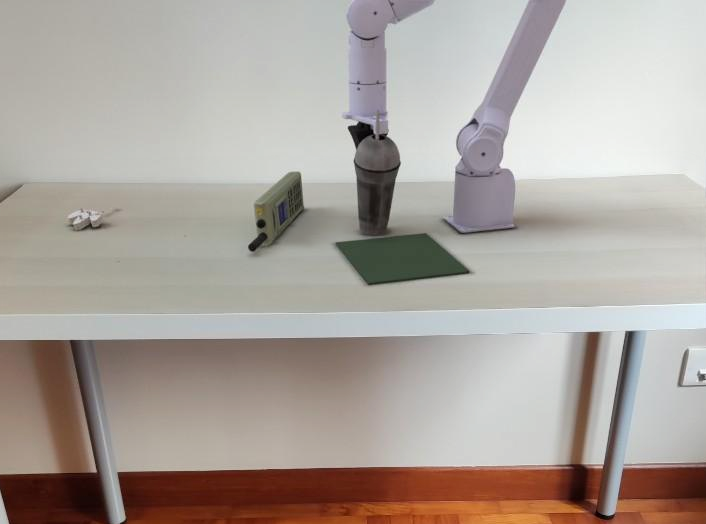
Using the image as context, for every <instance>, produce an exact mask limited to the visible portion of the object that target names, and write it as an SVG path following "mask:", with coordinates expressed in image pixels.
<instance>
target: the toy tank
mask: <svg viewBox="0 0 706 524" xmlns="http://www.w3.org/2000/svg"><path fill="white" fill-rule="evenodd" d="M112 209H113V207H111V208H110V209H109V210H108V213H110V212H111V211H112ZM115 209H116V210H118V207H115ZM102 213H103V214H104V213H105V212H104V211H102ZM102 213H101V212H100V210H99V211H96V210H88V209H87V210H85V209H83V208H82V207H80V209H79V210H76V211H74V212H72V213H70V214H69V215H68V216H67V220H68V223H69V224H70V225H73V227H74V230H75V231H80V230H82V229H84V228H85V227H87V226H89V225H90V223H91V226H92V228H98V227H99V226H101V224H102V223H103V221H104V219H103V216H102Z"/></svg>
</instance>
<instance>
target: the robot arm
mask: <svg viewBox="0 0 706 524" xmlns="http://www.w3.org/2000/svg"><path fill="white" fill-rule="evenodd" d="M435 1H436V0H351V2H350V3H349V5H348V8H347V13H346V20H347V24H348V26H349V28H350V29H351V30H350V31H349V35H348V44H349V47H348V50H347V54H348V56H347V58H348V103H349V104H348V108H349V109H348V111H344V112H341V118H342V119H343V120H352V121H355V122H357V123H356V124H353V125H348V126H347V129H348V132H349V134H350V136H351V138H352V142H353V144H354V147H355V151H356V150H357V148H358V146H359V144H360V143H361V142H362V140H364V139H365V138H366V137H368V136H370V135H373V134H377V132H376V110H379V133H378V134H382V135H385V136H387V137H388V135H389V132H390V131H389V130H390V129H389V120H388V117H389V116H388V115H389V114H388V113H389V112H388V110H387V48H386V32H385V31H386V29H387V28H388V25H389V24H392V25H397V24H399V23H400V22H402V21H405V20H406V19H408V18H410V17H412V16H413V15H416V14H418V13H420V12H422V11H424V10H425V9H427V8H429V7H431V6H433V5H434V3H435ZM566 3H567V0H528V2H527V4H526V6H525V8H524V10H523V12H522V15H521V17H520V18H519V21H518V24H517V26H516V27H515V30H514V32H513V35H512V36H511V38H510V41H509V43H508V46H507V47H506V50H505V52H504V54H503V56H502V58H501V61H500V62H499V65H498V67H497V70H496V71H495V74H494V76H493V79H492V80H491V83H490V85H489V87H488V89H487V91H486V93H485V96H484V98H483V100H482V102H481V103H480V105H479V106H478V107H477V108H476V109H475V111H474V112H473V114H472V117H471V118H470V119H469V121H468V122H467V124H465V125H463V126H462V128H461V129H460V130H459V131H458V133H457V136H456V140H455V146H456V150H457V152H458V154H459V156H460V157H461V158H460V159H459V161H458V163H457V164H456V165H455V167H454V169H455V171H454V188H453V189H454V190H453V207H452V209H453V211H452V212H453V213H452V215H448V216H447V215H446V216H444V217H443V219H444V221H446V223H448V224H450V225H451V226H452V227H453V228H455V230H457V231H458V232H460V233H462V234H465V233H474V232H482V231H483V232H485V231H495V230H505V229H512V228H515V224H514V211H515V199H516V179H515V176H514V174H513V171H512V170H511V169H510V168H505V167H503V168H502V167H501V166H500V165H501V163H502V160H503V158H504V145H505V141H506V139H507V136H508V135H509V129H510V123H511V118H512V117H513V116H512V115H513V113H514V112H515V109H516V107H517V105H518V103H519V101H520V99H521V97H522V95H523V93H524V90H525V88H526V86H527V84H528V82H529V79H531V76H532V74H533V72H534V70H535V68H536V65H537V64H538V61H539V59H540V57H541V55H542V54H543V51H544V48H545V46H546V45H547V42H548V41H549V38H550V37H551V34H552V32H553V30H554V28H555V26H556V24H557V21H558V19H559V17H560V15H561V13H562V11H563V9H564V7H565V5H566Z"/></svg>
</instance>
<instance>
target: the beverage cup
mask: <svg viewBox="0 0 706 524" xmlns="http://www.w3.org/2000/svg"><path fill="white" fill-rule="evenodd" d="M376 132H377V134H373V135H370V136H368V137H366V138H365V139H364V140H362V142H361V143H360V144H359V146H358V148H357V150H356V149H355V153H354V157H353V165H354V173H355V176H356V193H357V195H356V197H357V215H358V217H357V218H358V225H359V226H358V227H359V230H360V231H361V233H363V234H365V235H367V236H369V235H370V236H380V235H383V234H384V233H386V232H387V231H388V230H387V229H388V225H389V222H390V216H391V210H392V204H393V198H394V193H395V186H396V179H397V177H398V173H399V170H400V167H401V164H402V162H401V154H400V151H399V148H398V146H397V144H396V142H395V141H394V140H393V139H392V138H391V137H389V136H388V135H387V136H385V135H382V134H378V133H379V110H376Z"/></svg>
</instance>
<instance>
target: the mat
mask: <svg viewBox="0 0 706 524" xmlns="http://www.w3.org/2000/svg"><path fill="white" fill-rule="evenodd" d="M335 245H336V246H337V248H338V249H339V250H340V252H341V253H342V254H343V255H344V256H345V257H346V259H347V260H348V261H349V262H350V264H351V265H352V266H353V267H354V268H355V270H356V271H357V273H358V274H359V275H360V276H361V277H362V279H363V280H364V281H365V282H366V284H367V285H369V286H370V285H377V284H387V283H395V282H403V281H412V280H413V281H414V280H421V279H429V278H439V277H447V276H455V275H464V274H470V270H469V269H468V268H467V267H466V266H464V264H462V263H461V262H460V261H459V260H458V259H456V258H455V257H454V256H453V255H452V254H451V253H449V252H448V250H446V249H445V248H444V247H443V246H442V245H441V244H440V243H438V242H437V241H436V240H435V239H433V238H432V237H431V236H430V235H429V234H428V233H427V232H424V233H423V232H422V233H413V234H405V235H394V236H383V237H374V238H366V239H365V238H364V239H356V240H346V241H337V242H335Z"/></svg>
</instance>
